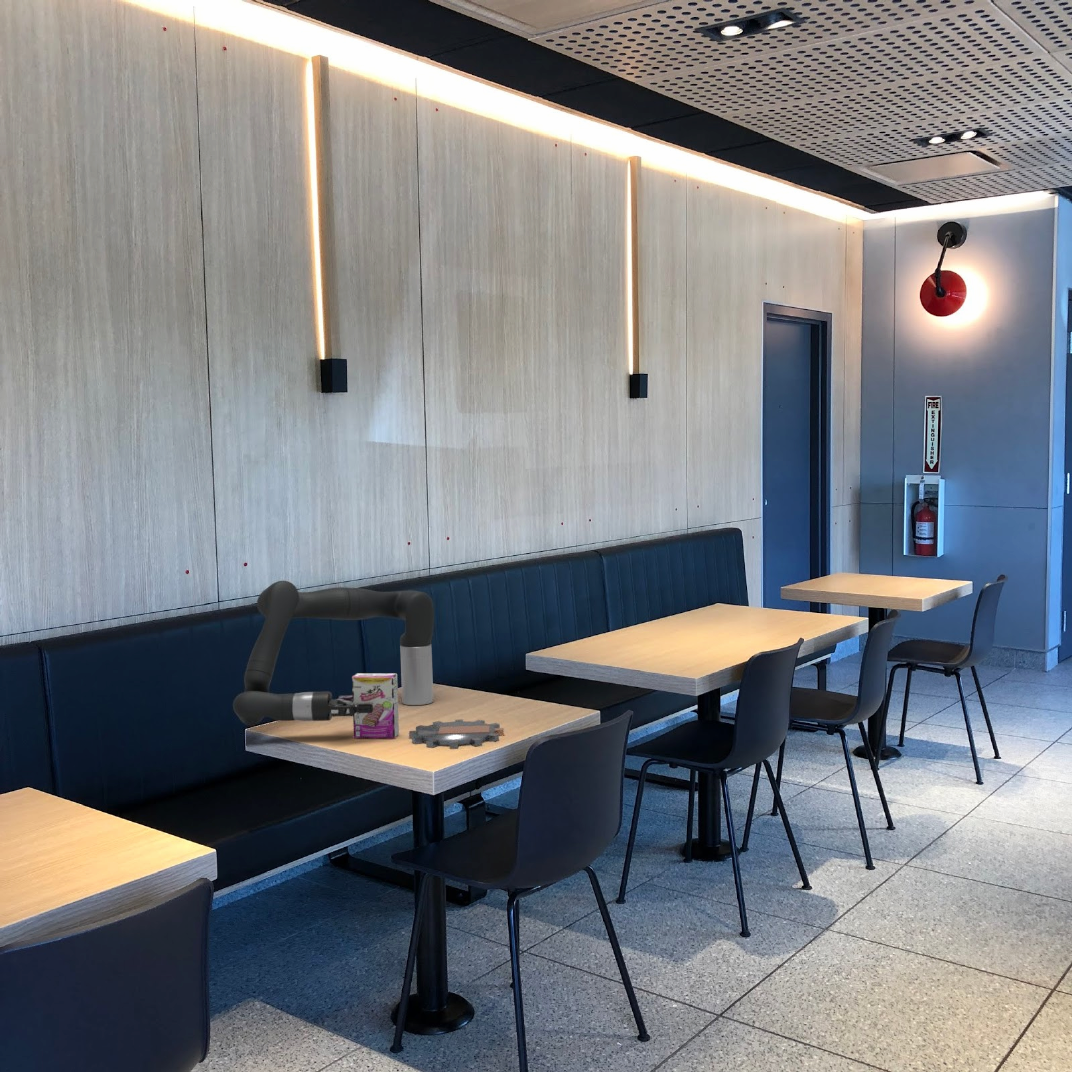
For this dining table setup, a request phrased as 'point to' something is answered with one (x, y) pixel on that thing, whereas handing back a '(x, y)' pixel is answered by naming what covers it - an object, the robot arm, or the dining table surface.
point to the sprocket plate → (456, 733)
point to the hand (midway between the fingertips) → (375, 704)
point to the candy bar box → (376, 705)
